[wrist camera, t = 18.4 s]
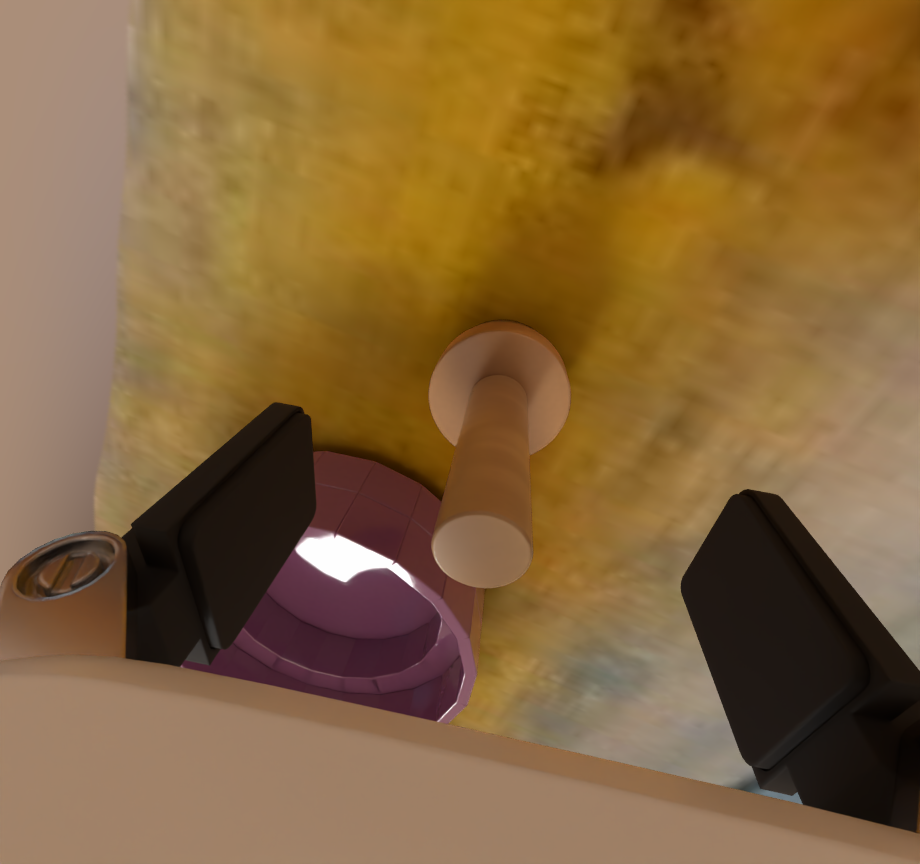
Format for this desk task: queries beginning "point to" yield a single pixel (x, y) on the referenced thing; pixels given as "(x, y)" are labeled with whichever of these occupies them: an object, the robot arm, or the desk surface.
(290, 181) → the desk surface
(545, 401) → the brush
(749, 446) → the desk surface
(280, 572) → the bowl
